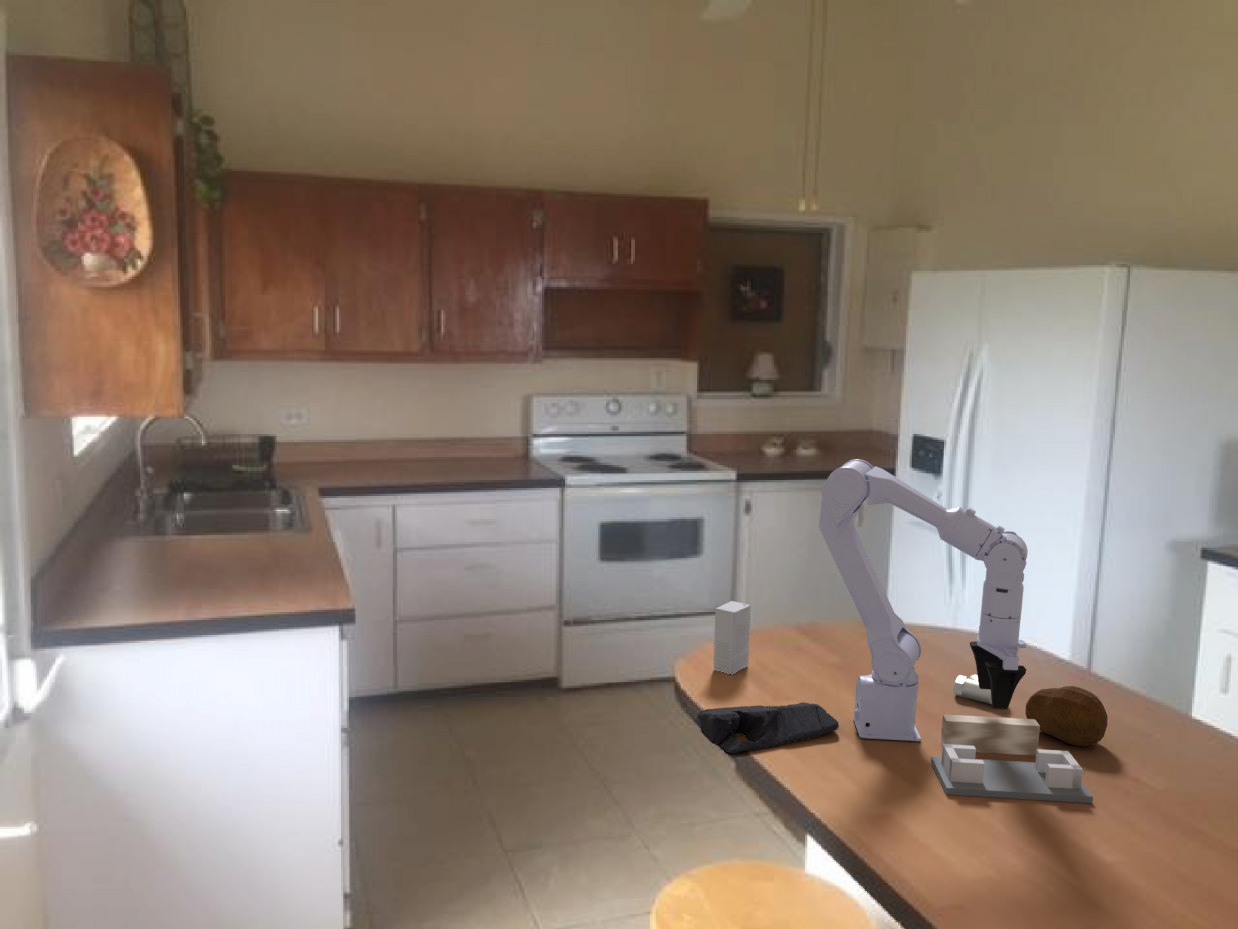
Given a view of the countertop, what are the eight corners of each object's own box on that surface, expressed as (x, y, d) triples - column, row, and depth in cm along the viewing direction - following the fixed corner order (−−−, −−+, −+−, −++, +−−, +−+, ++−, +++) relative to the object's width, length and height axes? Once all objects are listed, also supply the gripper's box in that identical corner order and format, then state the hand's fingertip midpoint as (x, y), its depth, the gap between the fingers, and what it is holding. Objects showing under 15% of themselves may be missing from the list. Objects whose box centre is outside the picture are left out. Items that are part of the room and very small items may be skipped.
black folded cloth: (851, 744, 165) (853, 715, 165) (721, 759, 159) (722, 729, 158) (806, 706, 180) (808, 679, 179) (685, 718, 173) (686, 691, 173)
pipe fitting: (966, 690, 189) (952, 698, 184) (969, 669, 189) (954, 676, 184) (1011, 702, 184) (998, 710, 179) (1014, 680, 184) (1000, 688, 179)
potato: (1051, 719, 176) (1056, 669, 174) (1118, 746, 166) (1124, 694, 164) (1019, 730, 171) (1024, 679, 170) (1085, 758, 161) (1091, 704, 160)
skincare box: (728, 661, 199) (731, 600, 197) (748, 666, 196) (751, 604, 194) (712, 670, 194) (714, 607, 192) (732, 676, 191) (735, 612, 189)
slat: (944, 751, 163) (946, 721, 162) (940, 744, 165) (942, 714, 165) (1036, 756, 162) (1040, 726, 161) (1031, 749, 164) (1034, 719, 164)
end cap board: (946, 794, 149) (948, 768, 148) (930, 762, 159) (932, 737, 158) (1092, 803, 147) (1095, 776, 147) (1067, 770, 157) (1070, 745, 156)
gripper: (1043, 630, 153) (1034, 718, 155) (1013, 600, 167) (1006, 681, 169) (993, 627, 153) (985, 716, 155) (968, 598, 167) (961, 679, 170)
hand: (993, 698), depth 162 cm, fingers open, 7 cm apart
